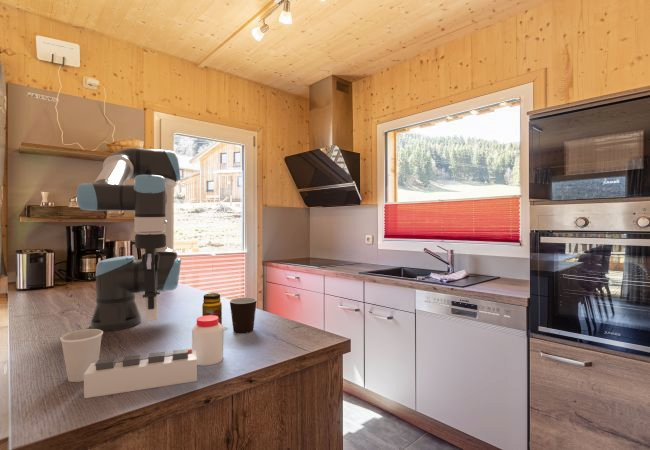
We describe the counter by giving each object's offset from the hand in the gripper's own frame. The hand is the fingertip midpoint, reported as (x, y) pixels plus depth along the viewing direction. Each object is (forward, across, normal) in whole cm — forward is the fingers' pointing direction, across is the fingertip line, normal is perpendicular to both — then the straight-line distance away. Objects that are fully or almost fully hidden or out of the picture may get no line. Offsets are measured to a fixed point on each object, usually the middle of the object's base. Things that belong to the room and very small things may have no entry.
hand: (151, 319), depth 97 cm
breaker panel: (+9, -18, 0) cm, 20 cm away
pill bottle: (+10, -9, -14) cm, 19 cm away
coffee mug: (+10, +13, -27) cm, 32 cm away
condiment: (+10, +16, -16) cm, 25 cm away
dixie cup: (+10, -9, +14) cm, 19 cm away
